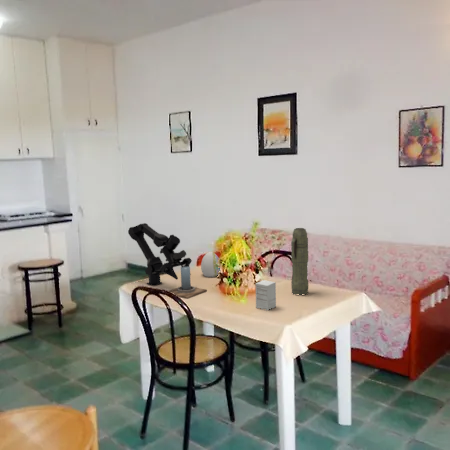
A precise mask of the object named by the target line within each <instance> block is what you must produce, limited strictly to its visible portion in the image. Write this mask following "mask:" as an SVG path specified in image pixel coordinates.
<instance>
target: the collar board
mask: <svg viewBox="0 0 450 450" xmlns="http://www.w3.org/2000/svg"><path fill="white" fill-rule="evenodd" d="M169 291H170V292H172V293H174V294H175V295H177V296H178V298H182V299H187V300H188V299H190V298H193V297H196V296H199V295H201V294H204V293H206V292H207V291H208V290H207V289H205V288H201V287H196V286H193V285H191V290H182V287H181V286H178V287H177V288H174V289H171V290H169ZM177 296H176V297H177Z"/></svg>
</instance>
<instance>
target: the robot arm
mask: <svg viewBox="0 0 450 450" xmlns="http://www.w3.org/2000/svg"><path fill="white" fill-rule="evenodd" d="M128 235H129V237H130V238H131V239H132V240H133V241H135V242H136V244H137V245H138V247H139V249H140V250H141V253H143V256H144V257H145V259H146V261H147V262H146V269H145V275H147V276H148V282H146V284H147V285H149V286H150V285H151V286H158V285H161V284H163V282H162V281H161V275H160V274H163V273H164V274H166V275H168V276H170V277H171V278H173V279H175V281H176V280H178V279H179V278H178V275H177V273H176V272H175V270H174V268H175V267H180V268H181V267H185V266H187V267H190V264H191V263H192V261H193V260H192V259H191V257H186V256H187V251H185V250H184V249H182V250H180V252H175V251H174V250H176V249H177V247H178V246H179V245H180V243H181V239H180V238H179V237H177V236H176V235H174V234H170V235H169V237H168V236H167V235H165V234H162V233H159V232H158V231H157V230H155V229H153V227H151V226H149V225H148V223H145V222H144V223H140V224H137V225H135V226H130V227H129V228H128ZM145 235H146V236H147V237H148V238H150V239H152V242H153V244H154V245H155V246H156V247H157V248H160V251H159V253H160V254H163V256H164V257H165V258H166V259H165V262H164V263H163V261H162V259H161V258H160V256H155V254H154V253H153V250H152V249H151V247H150V246H149V244H148V242H147V239H146V238H145ZM191 275H192V274H191V273H190V276H191Z"/></svg>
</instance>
